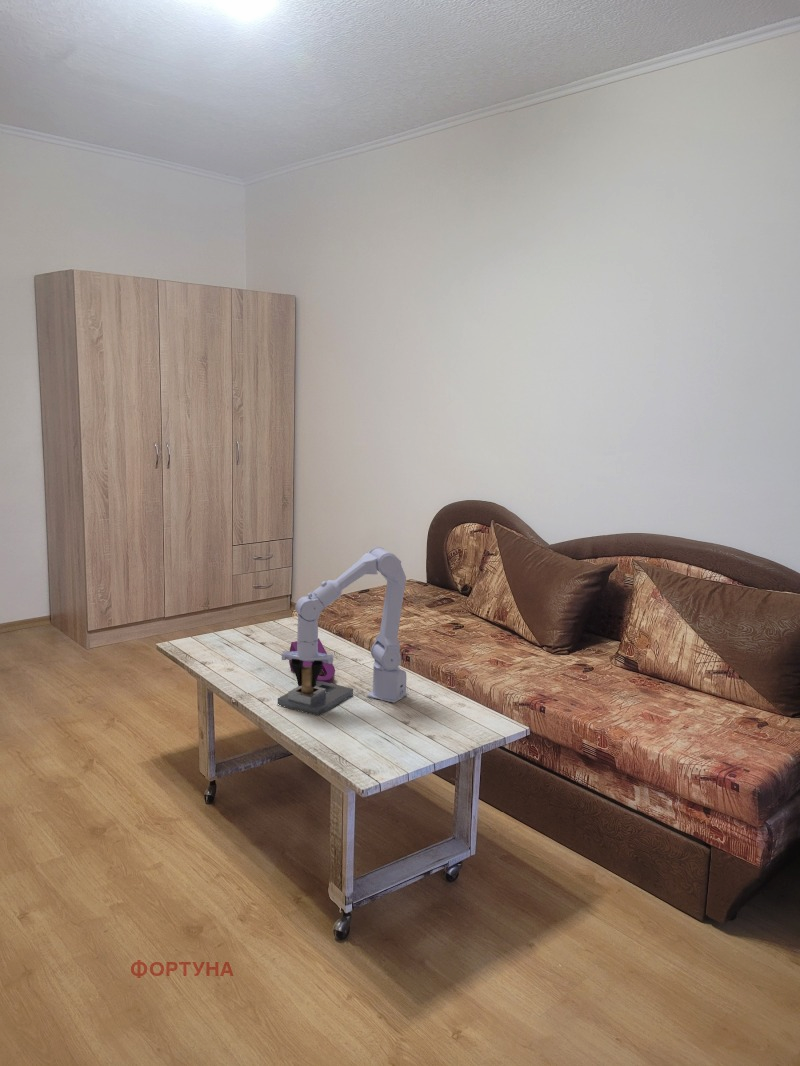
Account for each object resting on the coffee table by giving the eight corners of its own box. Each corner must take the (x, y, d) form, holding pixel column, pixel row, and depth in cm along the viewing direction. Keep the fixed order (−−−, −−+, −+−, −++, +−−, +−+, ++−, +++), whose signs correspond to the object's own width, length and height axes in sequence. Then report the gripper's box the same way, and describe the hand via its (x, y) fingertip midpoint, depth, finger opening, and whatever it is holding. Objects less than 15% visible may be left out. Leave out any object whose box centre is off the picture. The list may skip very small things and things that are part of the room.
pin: (314, 696, 230) (315, 666, 228) (311, 701, 226) (311, 671, 225) (303, 695, 230) (303, 665, 229) (299, 700, 227) (299, 669, 225)
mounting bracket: (334, 697, 250) (314, 657, 262) (339, 677, 245) (319, 638, 258) (306, 702, 245) (287, 661, 258) (310, 682, 241) (291, 641, 253)
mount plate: (353, 695, 237) (353, 680, 236) (318, 715, 221) (318, 700, 221) (313, 685, 244) (314, 671, 243) (277, 705, 228) (277, 690, 227)
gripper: (336, 636, 228) (335, 682, 231) (286, 633, 230) (286, 678, 232) (330, 644, 221) (329, 691, 224) (279, 640, 223) (279, 687, 225)
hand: (307, 685), depth 228 cm, fingers closed on pin, 3 cm apart
